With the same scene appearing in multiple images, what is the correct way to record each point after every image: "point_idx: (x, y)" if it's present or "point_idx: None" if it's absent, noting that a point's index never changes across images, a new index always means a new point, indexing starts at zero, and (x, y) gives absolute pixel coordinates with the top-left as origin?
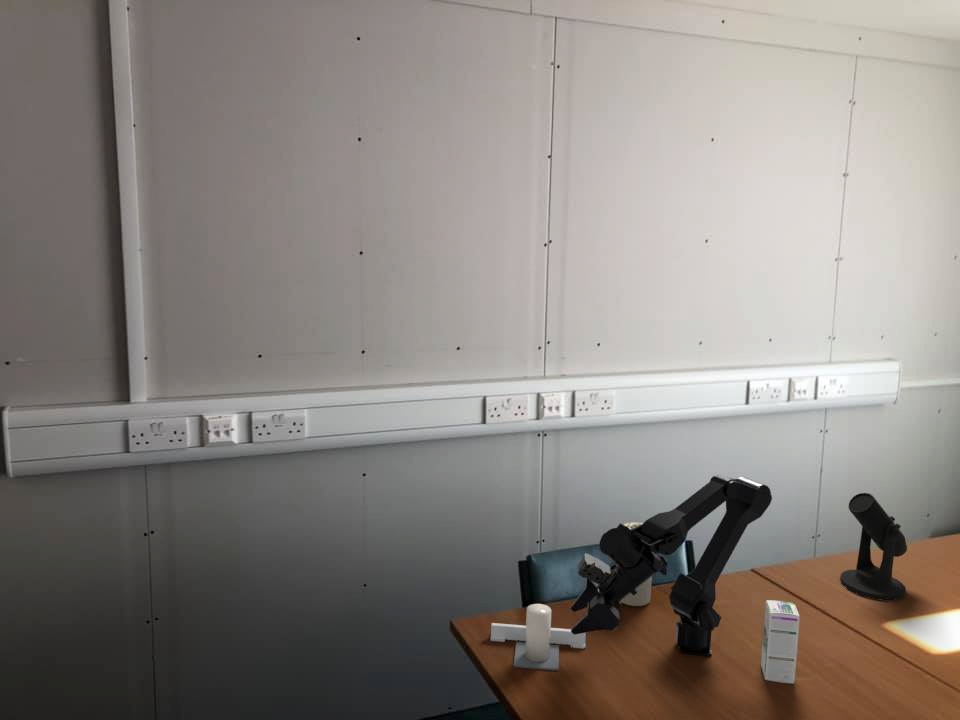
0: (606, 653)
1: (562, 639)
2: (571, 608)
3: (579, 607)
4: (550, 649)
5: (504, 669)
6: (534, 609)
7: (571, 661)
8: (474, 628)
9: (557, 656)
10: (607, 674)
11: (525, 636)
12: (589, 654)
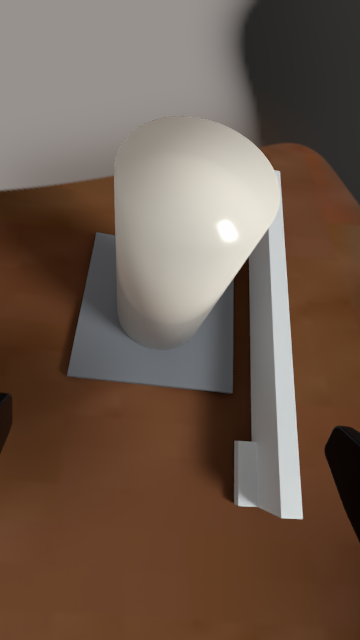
0: (209, 613)
1: (259, 406)
2: (336, 430)
3: (354, 498)
4: (200, 358)
5: (83, 211)
6: (202, 153)
7: (135, 434)
8: (288, 171)
9: (154, 379)
10: (27, 608)
11: (256, 279)
12: (192, 521)
